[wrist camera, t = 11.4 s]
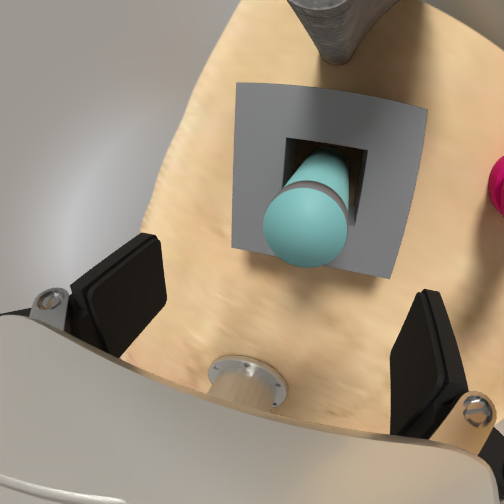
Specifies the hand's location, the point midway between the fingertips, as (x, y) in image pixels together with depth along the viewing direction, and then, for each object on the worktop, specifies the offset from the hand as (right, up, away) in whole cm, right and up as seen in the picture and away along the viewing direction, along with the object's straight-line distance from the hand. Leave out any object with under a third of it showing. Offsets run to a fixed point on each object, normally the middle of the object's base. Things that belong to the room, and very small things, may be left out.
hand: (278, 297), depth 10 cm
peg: (+6, +9, +15) cm, 19 cm away
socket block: (+6, +9, +15) cm, 19 cm away
